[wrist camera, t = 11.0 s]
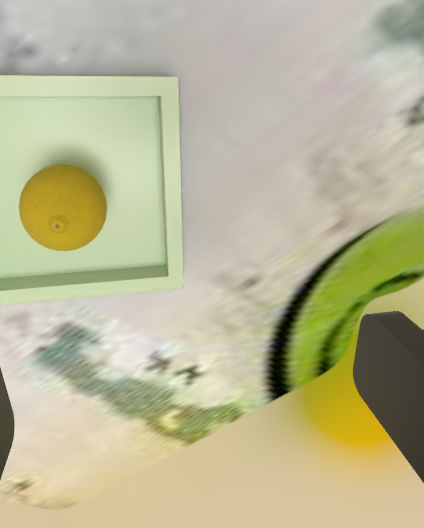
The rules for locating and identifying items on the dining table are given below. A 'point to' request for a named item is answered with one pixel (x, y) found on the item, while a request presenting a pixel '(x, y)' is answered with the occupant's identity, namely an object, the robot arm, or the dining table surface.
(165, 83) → the tray
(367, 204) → the dining table surface
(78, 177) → the lemon
